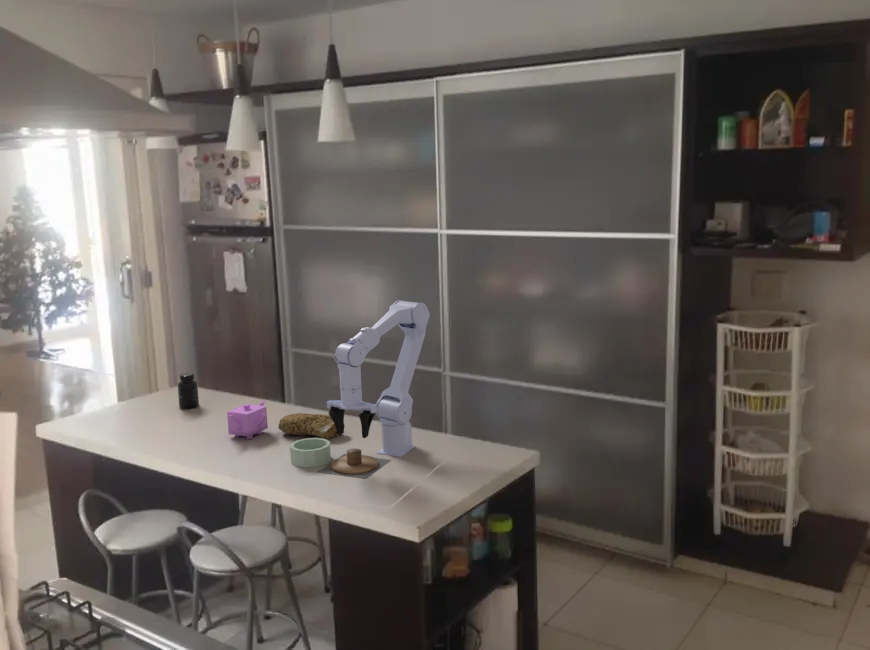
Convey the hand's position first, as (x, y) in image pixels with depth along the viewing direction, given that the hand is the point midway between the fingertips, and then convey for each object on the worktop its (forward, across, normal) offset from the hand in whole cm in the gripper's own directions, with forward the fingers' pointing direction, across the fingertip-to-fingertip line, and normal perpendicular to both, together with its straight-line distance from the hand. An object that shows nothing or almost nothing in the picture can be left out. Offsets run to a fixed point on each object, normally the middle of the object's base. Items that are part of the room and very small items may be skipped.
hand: (353, 435), depth 221 cm
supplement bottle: (+9, -85, +33) cm, 92 cm away
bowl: (+9, -14, 0) cm, 17 cm away
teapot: (+9, -45, +14) cm, 48 cm away
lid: (+9, 0, 0) cm, 9 cm away
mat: (+9, 0, 0) cm, 9 cm away
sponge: (+10, -27, +20) cm, 35 cm away
